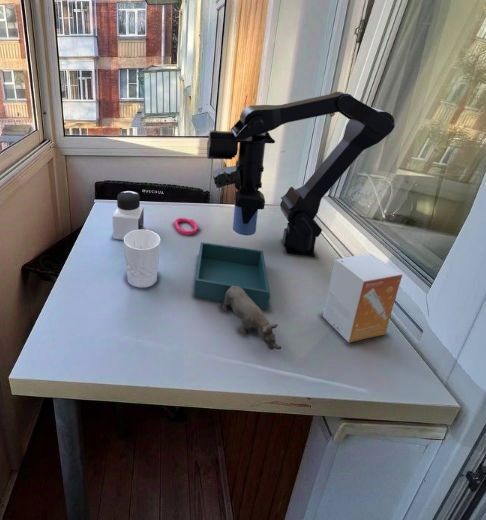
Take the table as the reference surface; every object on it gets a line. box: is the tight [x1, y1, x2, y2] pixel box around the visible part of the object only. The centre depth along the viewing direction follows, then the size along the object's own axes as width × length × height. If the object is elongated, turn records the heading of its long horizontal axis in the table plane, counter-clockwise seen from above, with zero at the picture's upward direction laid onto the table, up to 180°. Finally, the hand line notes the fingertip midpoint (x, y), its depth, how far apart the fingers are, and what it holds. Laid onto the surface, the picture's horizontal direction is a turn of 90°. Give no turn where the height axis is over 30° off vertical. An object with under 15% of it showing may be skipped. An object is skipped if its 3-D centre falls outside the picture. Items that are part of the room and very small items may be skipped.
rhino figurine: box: [221, 286, 283, 351], centre depth 59 cm, size 4×14×6 cm, turn 22°
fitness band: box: [174, 217, 199, 236], centre depth 94 cm, size 8×6×2 cm
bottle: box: [232, 188, 259, 236], centre depth 83 cm, size 6×6×11 cm
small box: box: [322, 253, 403, 344], centre depth 59 cm, size 8×6×13 cm
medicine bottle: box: [112, 190, 145, 241], centre depth 90 cm, size 7×7×12 cm
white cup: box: [123, 229, 162, 288], centre depth 73 cm, size 8×8×10 cm
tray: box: [193, 241, 271, 311], centre depth 73 cm, size 14×14×4 cm
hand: (244, 217), depth 84 cm, fingers closed on bottle, 6 cm apart
